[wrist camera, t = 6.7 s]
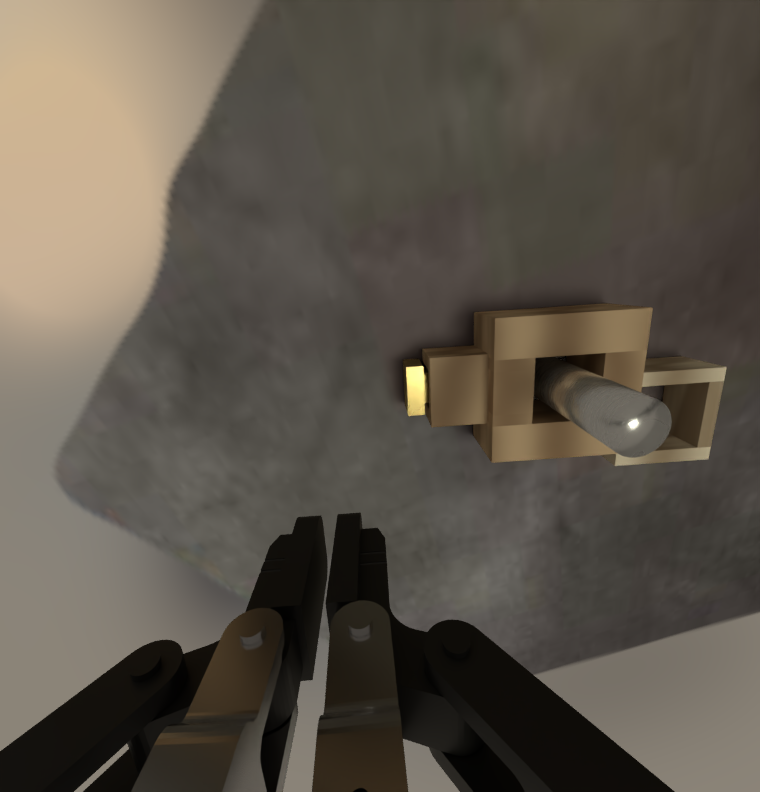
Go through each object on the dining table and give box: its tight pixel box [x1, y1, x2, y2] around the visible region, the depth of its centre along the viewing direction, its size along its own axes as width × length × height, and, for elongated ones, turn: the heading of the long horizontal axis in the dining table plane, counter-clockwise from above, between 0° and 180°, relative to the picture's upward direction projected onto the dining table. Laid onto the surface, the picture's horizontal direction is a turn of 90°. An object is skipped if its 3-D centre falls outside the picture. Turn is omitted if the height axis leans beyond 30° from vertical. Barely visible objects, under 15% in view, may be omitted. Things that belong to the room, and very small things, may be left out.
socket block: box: [422, 303, 653, 463], centre depth 28 cm, size 14×10×5 cm
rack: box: [601, 356, 727, 466], centre depth 29 cm, size 7×7×4 cm
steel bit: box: [534, 357, 672, 458], centre depth 25 cm, size 3×3×12 cm
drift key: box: [403, 359, 429, 416], centre depth 29 cm, size 8×4×3 cm, turn 94°
